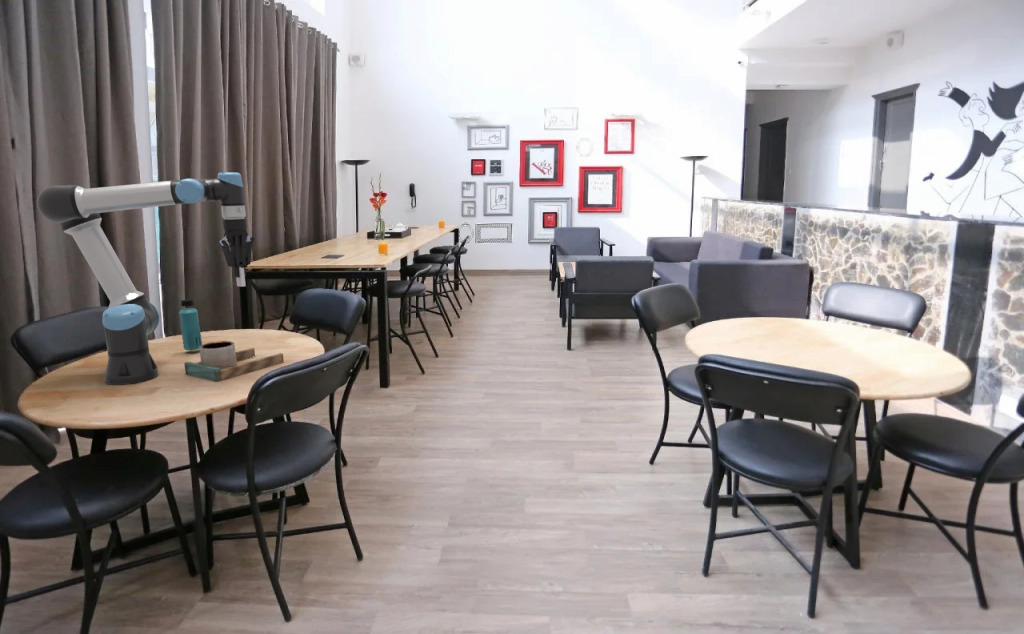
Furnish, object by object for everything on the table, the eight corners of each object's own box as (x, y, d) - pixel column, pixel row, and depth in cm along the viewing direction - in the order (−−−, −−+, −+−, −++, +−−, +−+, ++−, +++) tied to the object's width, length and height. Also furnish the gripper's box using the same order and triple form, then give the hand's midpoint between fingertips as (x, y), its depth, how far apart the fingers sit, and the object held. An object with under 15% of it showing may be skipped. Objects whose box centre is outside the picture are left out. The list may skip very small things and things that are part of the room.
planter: (195, 374, 218) (192, 346, 216) (225, 366, 227) (222, 339, 225) (214, 379, 212) (211, 350, 210) (244, 370, 221) (241, 343, 219)
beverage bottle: (198, 354, 243) (191, 301, 239) (180, 354, 243) (173, 301, 239) (206, 349, 250) (200, 298, 245) (189, 349, 250) (182, 298, 246)
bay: (217, 381, 209) (216, 369, 208) (185, 374, 218) (184, 362, 217) (283, 361, 231) (282, 350, 230) (252, 355, 239) (251, 345, 239)
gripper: (224, 219, 218) (231, 289, 223) (257, 217, 229) (263, 284, 234) (210, 219, 222) (218, 288, 227) (243, 217, 233) (250, 282, 238)
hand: (241, 286), depth 230 cm, fingers closed
